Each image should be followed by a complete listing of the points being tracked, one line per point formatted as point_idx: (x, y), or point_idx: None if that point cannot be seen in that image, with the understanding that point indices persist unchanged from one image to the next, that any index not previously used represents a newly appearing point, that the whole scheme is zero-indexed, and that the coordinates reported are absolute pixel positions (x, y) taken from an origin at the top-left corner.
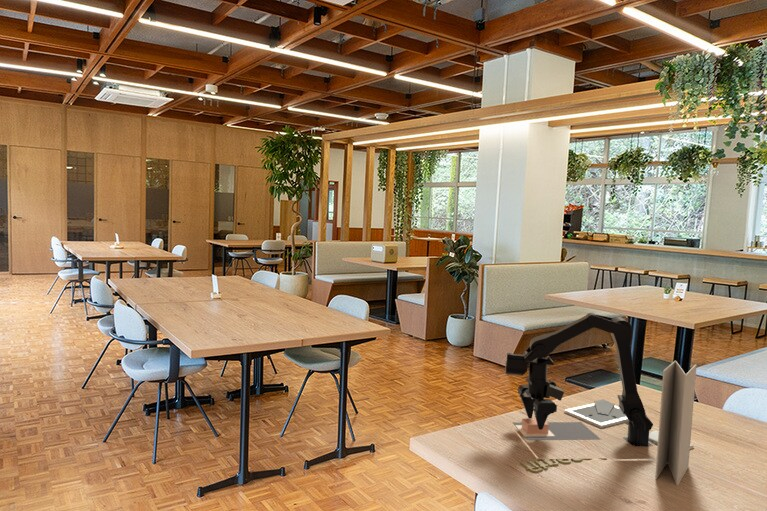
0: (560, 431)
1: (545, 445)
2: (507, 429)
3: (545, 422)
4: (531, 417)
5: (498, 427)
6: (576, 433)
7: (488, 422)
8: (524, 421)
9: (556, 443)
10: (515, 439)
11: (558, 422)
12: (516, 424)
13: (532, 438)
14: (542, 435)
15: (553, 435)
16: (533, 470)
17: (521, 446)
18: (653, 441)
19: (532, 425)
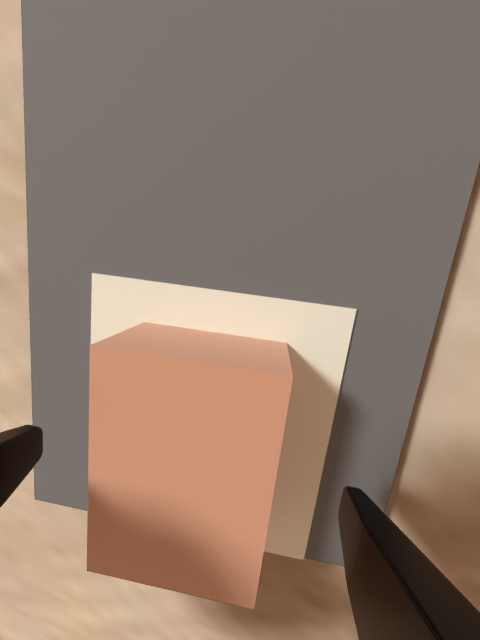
0: (253, 183)
1: (464, 464)
2: None
3: (221, 383)
4: (34, 434)
5: (96, 596)
6: (336, 7)
7: (17, 609)
8: (156, 581)
9: (456, 353)
10: (302, 602)
11: (28, 74)
12: (72, 492)
13: None
14: (316, 416)
15: (340, 318)
16: None
17: None
18: None
19: (261, 552)
